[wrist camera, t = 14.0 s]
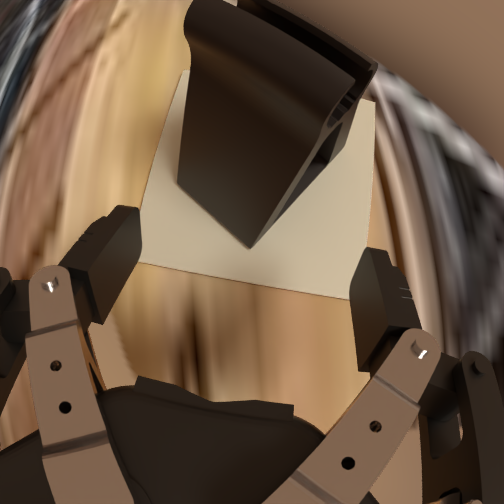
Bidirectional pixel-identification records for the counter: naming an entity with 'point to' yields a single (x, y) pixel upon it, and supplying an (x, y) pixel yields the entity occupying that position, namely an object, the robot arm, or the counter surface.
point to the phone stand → (263, 109)
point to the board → (284, 229)
